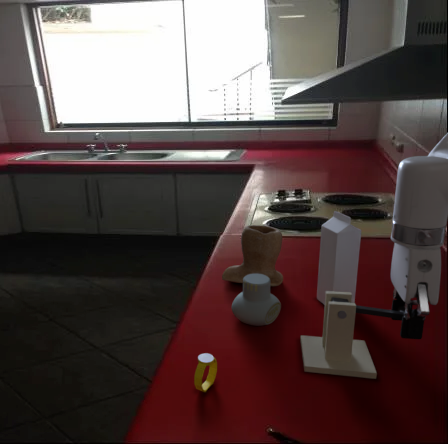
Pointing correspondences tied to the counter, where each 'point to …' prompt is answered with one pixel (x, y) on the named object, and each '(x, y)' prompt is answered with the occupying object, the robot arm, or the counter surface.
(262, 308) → the air freshener
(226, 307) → the counter surface
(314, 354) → the cream lever stand
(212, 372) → the watch
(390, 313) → the lever
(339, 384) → the counter surface
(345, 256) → the milk
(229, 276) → the tan boot
